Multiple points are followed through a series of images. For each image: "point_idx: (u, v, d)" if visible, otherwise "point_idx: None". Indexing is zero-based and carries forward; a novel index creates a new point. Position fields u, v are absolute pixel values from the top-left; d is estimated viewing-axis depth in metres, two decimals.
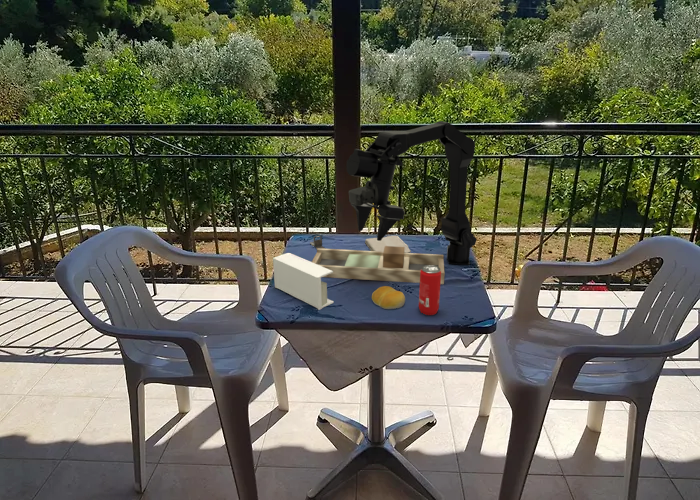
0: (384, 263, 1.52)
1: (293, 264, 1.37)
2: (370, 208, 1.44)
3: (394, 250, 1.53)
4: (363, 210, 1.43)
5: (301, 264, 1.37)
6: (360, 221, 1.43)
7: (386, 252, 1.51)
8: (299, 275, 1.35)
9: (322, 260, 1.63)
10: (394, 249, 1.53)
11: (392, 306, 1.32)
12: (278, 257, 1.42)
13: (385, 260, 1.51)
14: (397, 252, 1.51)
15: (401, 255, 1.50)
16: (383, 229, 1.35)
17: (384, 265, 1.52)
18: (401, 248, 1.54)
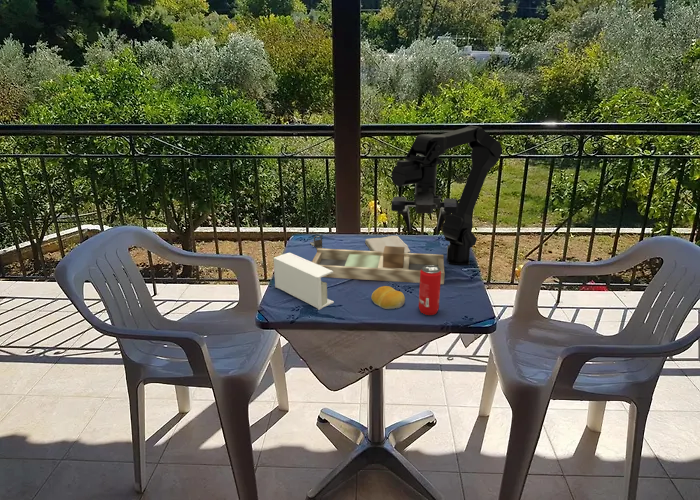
0: (384, 263, 1.52)
1: (293, 264, 1.37)
2: (408, 208, 1.50)
3: (394, 250, 1.53)
4: (408, 213, 1.48)
5: (301, 264, 1.37)
6: (409, 224, 1.48)
7: (386, 252, 1.51)
8: (299, 275, 1.35)
9: (322, 260, 1.63)
10: (394, 249, 1.53)
11: (392, 306, 1.32)
12: (279, 257, 1.42)
13: (385, 260, 1.51)
14: (397, 252, 1.51)
15: (401, 255, 1.50)
16: (442, 222, 1.47)
17: (384, 265, 1.52)
18: (401, 248, 1.54)
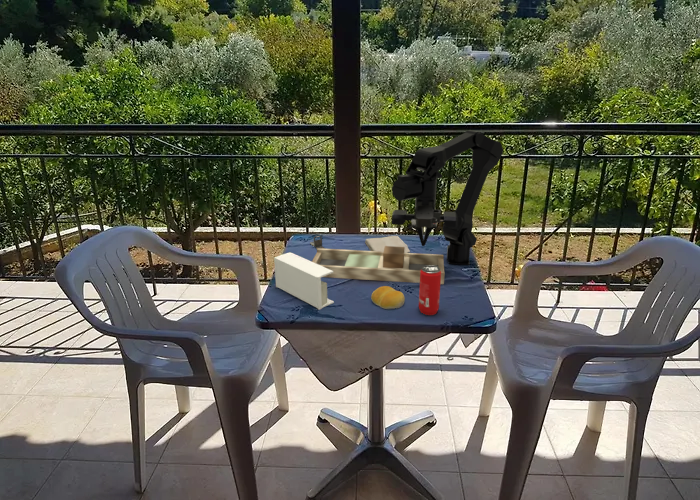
0: (384, 263, 1.52)
1: (294, 264, 1.37)
2: None
3: (394, 250, 1.53)
4: None
5: (302, 264, 1.38)
6: None
7: (386, 252, 1.51)
8: (299, 275, 1.35)
9: (322, 260, 1.63)
10: (394, 249, 1.53)
11: (392, 306, 1.32)
12: (279, 257, 1.42)
13: (385, 260, 1.51)
14: (397, 252, 1.51)
15: (401, 255, 1.50)
16: (428, 235, 1.49)
17: (384, 265, 1.52)
18: (401, 248, 1.54)
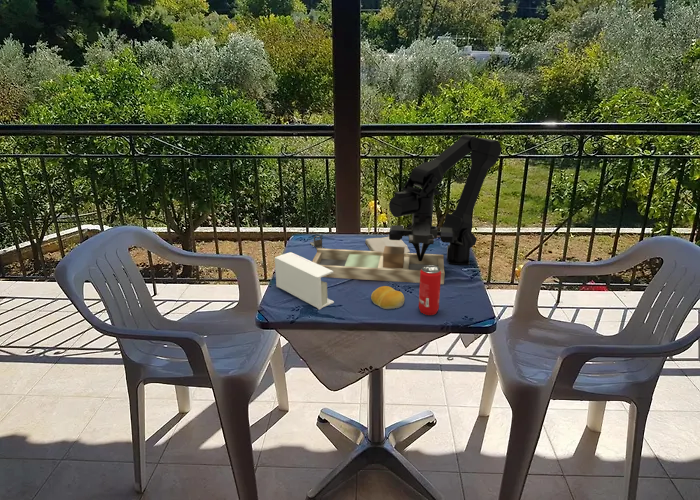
0: (384, 263, 1.52)
1: (294, 264, 1.37)
2: None
3: (394, 250, 1.53)
4: None
5: (302, 264, 1.38)
6: None
7: (386, 252, 1.51)
8: (299, 275, 1.35)
9: (322, 260, 1.63)
10: (394, 249, 1.53)
11: (391, 306, 1.32)
12: (280, 256, 1.42)
13: (385, 260, 1.51)
14: (397, 252, 1.51)
15: (401, 255, 1.50)
16: None
17: (384, 265, 1.52)
18: (401, 248, 1.54)
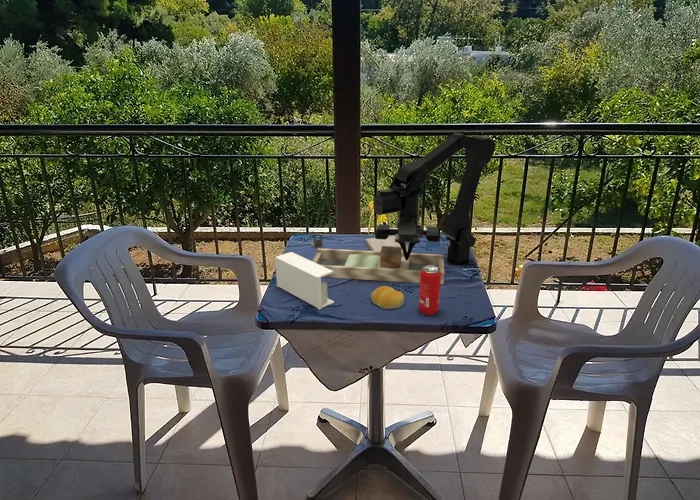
0: (381, 263, 1.52)
1: (294, 264, 1.37)
2: None
3: (392, 249, 1.53)
4: (405, 241, 1.51)
5: (302, 263, 1.38)
6: (406, 252, 1.52)
7: (383, 252, 1.51)
8: (300, 275, 1.35)
9: (322, 260, 1.63)
10: (391, 249, 1.53)
11: (391, 306, 1.32)
12: (280, 256, 1.43)
13: (383, 260, 1.51)
14: (394, 252, 1.51)
15: (398, 255, 1.50)
16: (411, 249, 1.52)
17: (381, 265, 1.52)
18: (398, 248, 1.54)
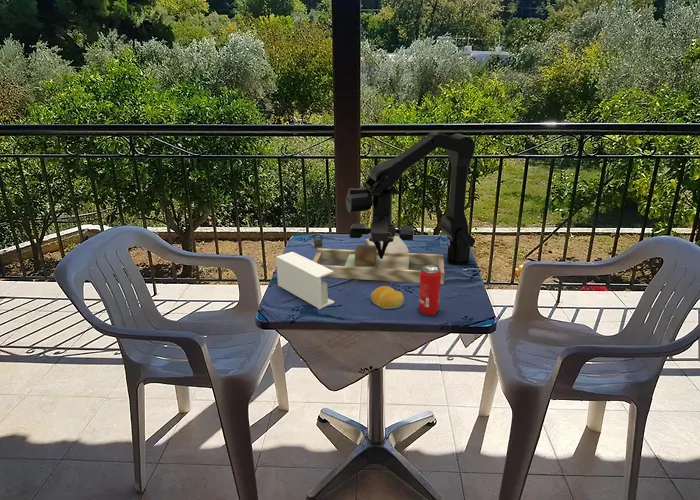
0: (356, 261, 1.53)
1: (295, 264, 1.38)
2: None
3: (367, 248, 1.54)
4: None
5: (303, 263, 1.38)
6: (381, 250, 1.53)
7: (358, 250, 1.53)
8: (300, 274, 1.35)
9: (322, 260, 1.63)
10: (366, 247, 1.54)
11: (391, 306, 1.32)
12: (281, 256, 1.43)
13: (357, 258, 1.52)
14: (369, 251, 1.52)
15: (373, 254, 1.51)
16: (385, 248, 1.53)
17: (356, 263, 1.53)
18: (374, 247, 1.55)
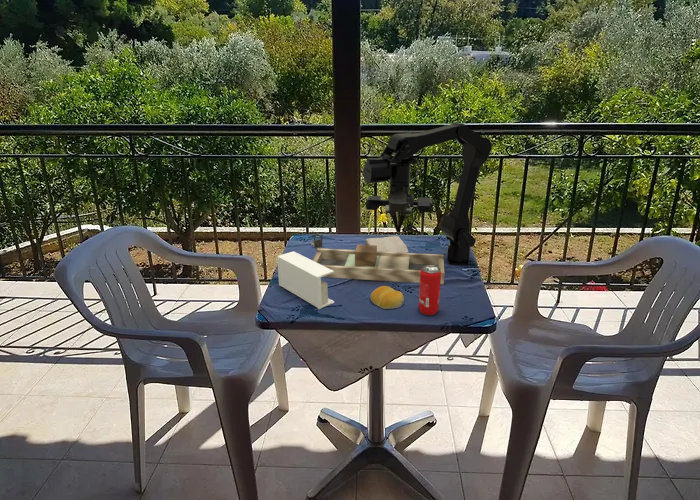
0: (356, 261, 1.53)
1: (295, 263, 1.38)
2: None
3: (367, 248, 1.54)
4: (396, 212, 1.48)
5: (303, 263, 1.38)
6: (397, 223, 1.49)
7: (358, 250, 1.53)
8: (300, 274, 1.36)
9: (322, 260, 1.63)
10: (366, 247, 1.54)
11: (391, 306, 1.32)
12: (282, 255, 1.43)
13: (357, 258, 1.52)
14: (369, 251, 1.52)
15: (373, 254, 1.51)
16: None
17: (356, 263, 1.53)
18: (374, 247, 1.55)
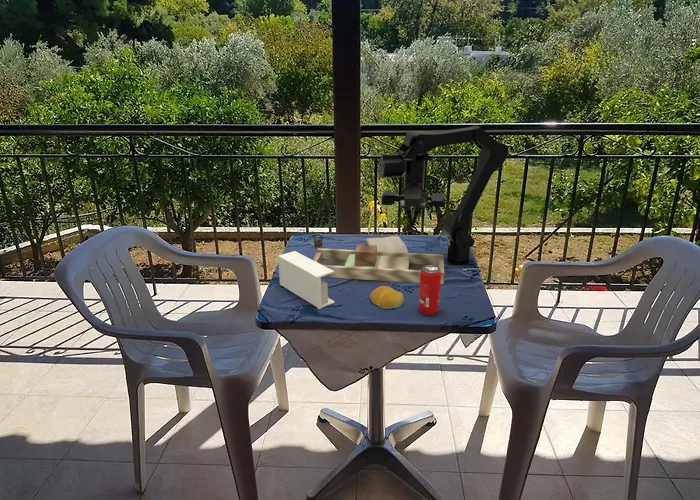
0: (356, 261, 1.53)
1: (296, 263, 1.38)
2: None
3: (367, 248, 1.54)
4: None
5: (304, 263, 1.38)
6: (411, 218, 1.53)
7: (358, 250, 1.53)
8: (301, 274, 1.36)
9: (322, 260, 1.63)
10: (366, 247, 1.54)
11: (391, 306, 1.32)
12: (283, 255, 1.43)
13: (357, 258, 1.52)
14: (369, 251, 1.52)
15: (373, 254, 1.51)
16: None
17: (356, 263, 1.53)
18: (374, 247, 1.55)
